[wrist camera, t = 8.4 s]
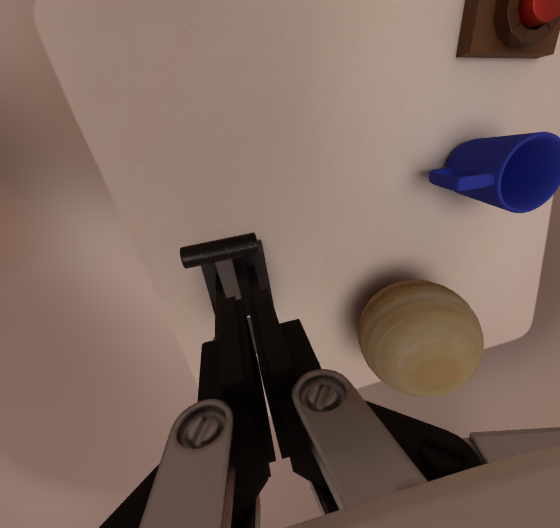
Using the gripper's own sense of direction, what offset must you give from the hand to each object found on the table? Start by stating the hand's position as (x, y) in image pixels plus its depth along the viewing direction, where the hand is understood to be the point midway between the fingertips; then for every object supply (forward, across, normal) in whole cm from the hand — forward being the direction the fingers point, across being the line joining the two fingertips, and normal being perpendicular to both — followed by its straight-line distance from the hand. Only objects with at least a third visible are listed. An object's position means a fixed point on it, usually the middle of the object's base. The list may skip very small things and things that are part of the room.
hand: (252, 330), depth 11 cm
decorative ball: (+29, -20, +22) cm, 42 cm away
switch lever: (+15, +1, +6) cm, 16 cm away
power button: (+25, -36, -13) cm, 46 cm away
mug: (+29, -30, +3) cm, 42 cm away
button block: (+29, -36, -13) cm, 48 cm away
